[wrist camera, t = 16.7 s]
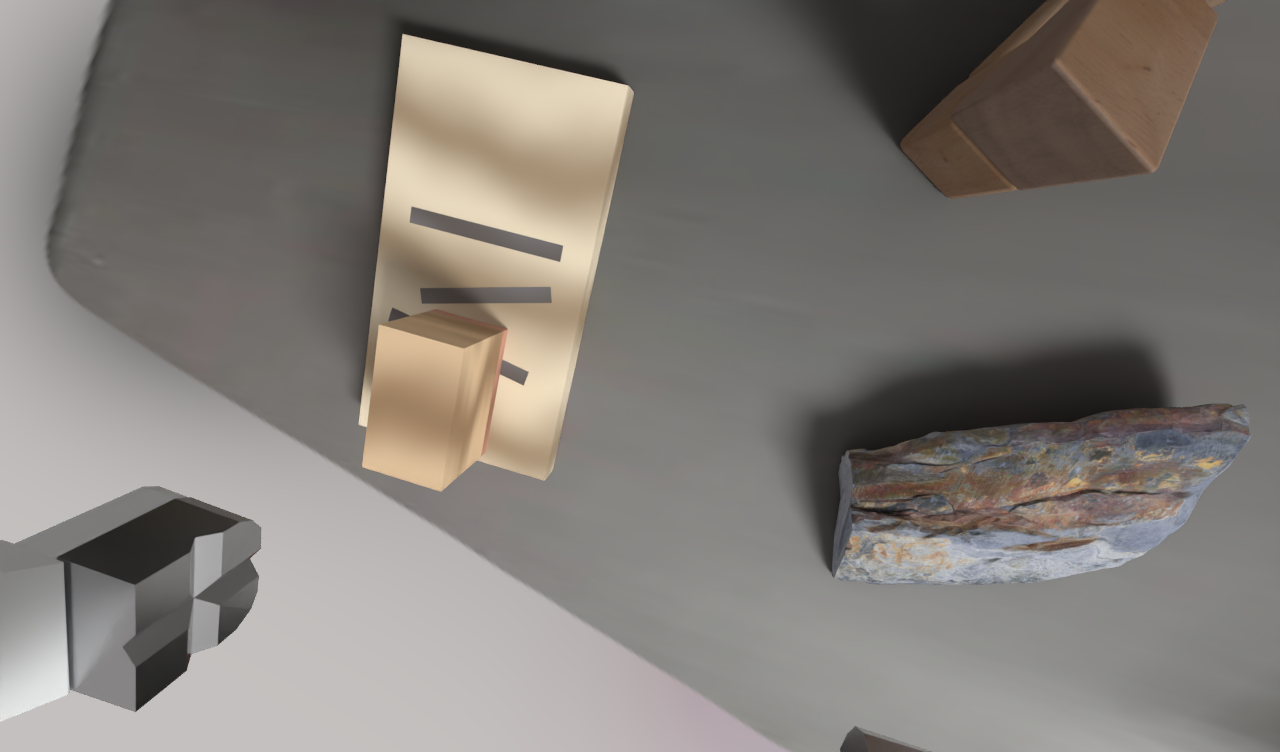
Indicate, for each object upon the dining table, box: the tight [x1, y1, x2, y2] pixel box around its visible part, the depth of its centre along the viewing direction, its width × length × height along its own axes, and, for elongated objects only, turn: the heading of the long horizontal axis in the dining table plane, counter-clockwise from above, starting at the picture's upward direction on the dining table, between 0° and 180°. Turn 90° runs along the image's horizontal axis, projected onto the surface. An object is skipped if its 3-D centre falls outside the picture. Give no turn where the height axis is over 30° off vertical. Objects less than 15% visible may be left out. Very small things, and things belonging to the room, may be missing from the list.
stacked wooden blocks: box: [900, 0, 1227, 199], centre depth 17 cm, size 4×11×18 cm, turn 136°
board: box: [359, 34, 634, 481], centre depth 31 cm, size 20×11×2 cm, turn 167°
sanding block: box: [362, 309, 508, 491], centre depth 29 cm, size 7×4×5 cm, turn 166°
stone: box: [832, 404, 1251, 585], centre depth 29 cm, size 17×5×10 cm
